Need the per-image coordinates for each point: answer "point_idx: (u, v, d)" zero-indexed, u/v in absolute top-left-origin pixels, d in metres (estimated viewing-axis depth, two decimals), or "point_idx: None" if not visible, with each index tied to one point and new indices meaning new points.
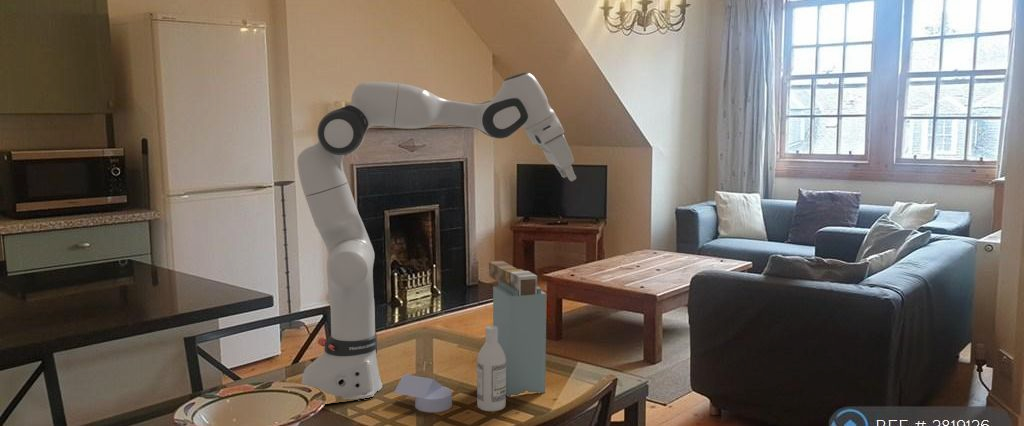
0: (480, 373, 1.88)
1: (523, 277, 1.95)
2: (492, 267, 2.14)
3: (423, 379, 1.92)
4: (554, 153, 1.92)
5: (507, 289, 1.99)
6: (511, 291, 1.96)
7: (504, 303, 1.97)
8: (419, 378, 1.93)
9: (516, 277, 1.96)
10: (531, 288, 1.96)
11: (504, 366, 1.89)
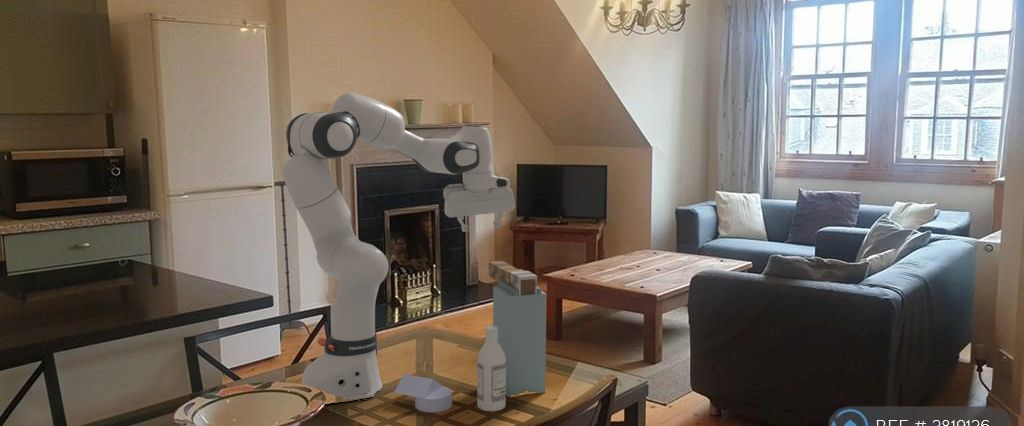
0: (480, 373, 1.88)
1: (523, 277, 1.95)
2: (492, 267, 2.14)
3: (423, 379, 1.92)
4: (513, 196, 2.25)
5: (507, 289, 1.99)
6: (511, 291, 1.96)
7: (504, 303, 1.97)
8: (419, 378, 1.93)
9: (516, 277, 1.96)
10: (531, 288, 1.96)
11: (504, 366, 1.89)
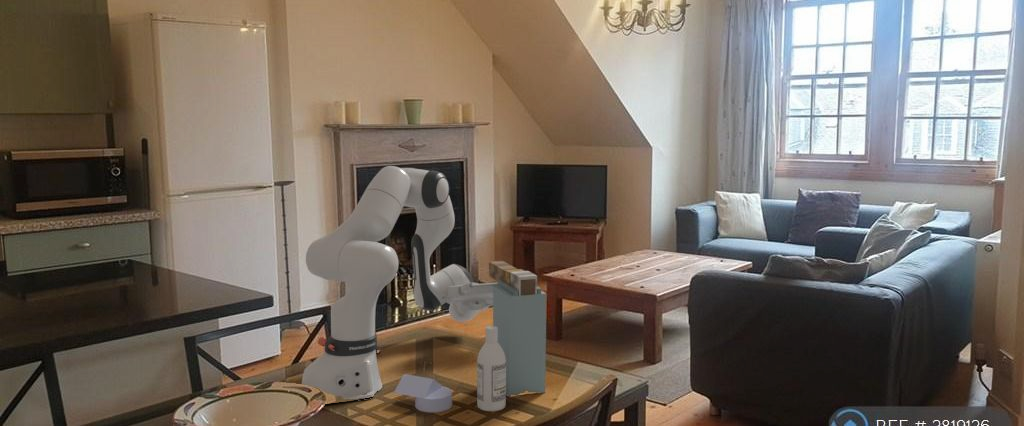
0: (480, 373, 1.88)
1: (523, 277, 1.95)
2: (492, 267, 2.14)
3: (423, 379, 1.92)
4: None
5: (507, 289, 1.99)
6: (511, 291, 1.96)
7: (504, 303, 1.97)
8: (419, 378, 1.93)
9: (516, 277, 1.96)
10: (531, 288, 1.96)
11: (504, 366, 1.89)
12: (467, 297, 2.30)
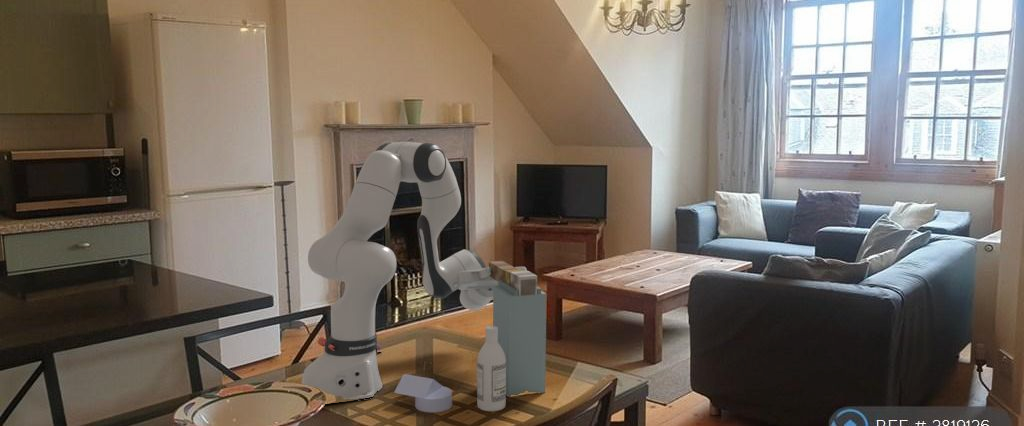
0: (480, 373, 1.88)
1: (523, 277, 1.95)
2: (492, 267, 2.14)
3: (423, 379, 1.92)
4: None
5: (507, 289, 1.99)
6: (511, 291, 1.96)
7: (504, 303, 1.97)
8: (419, 378, 1.93)
9: (516, 277, 1.96)
10: (531, 288, 1.96)
11: (504, 366, 1.89)
12: (480, 283, 2.18)
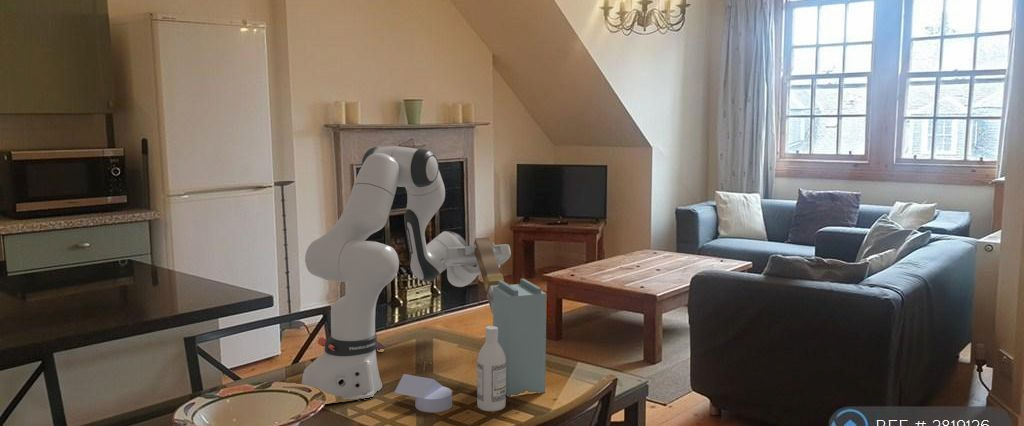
0: (480, 373, 1.88)
1: None
2: (477, 248, 2.26)
3: (423, 379, 1.92)
4: None
5: (507, 289, 1.99)
6: (511, 291, 1.96)
7: (504, 303, 1.97)
8: (419, 378, 1.93)
9: None
10: None
11: (504, 366, 1.89)
12: (465, 259, 2.30)
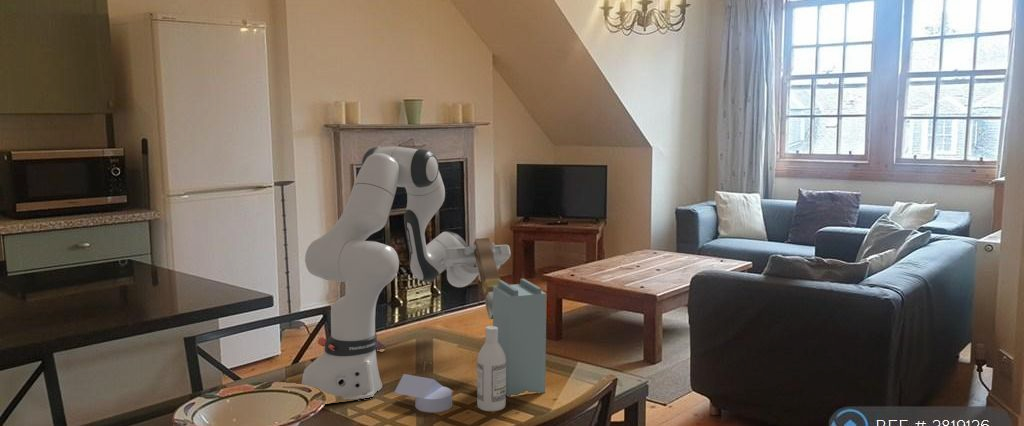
0: (480, 373, 1.88)
1: None
2: (477, 249, 2.26)
3: (423, 379, 1.92)
4: None
5: (507, 289, 1.99)
6: (511, 291, 1.96)
7: (504, 303, 1.97)
8: (419, 378, 1.93)
9: (491, 306, 2.15)
10: None
11: (504, 366, 1.89)
12: (465, 259, 2.30)
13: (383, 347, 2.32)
